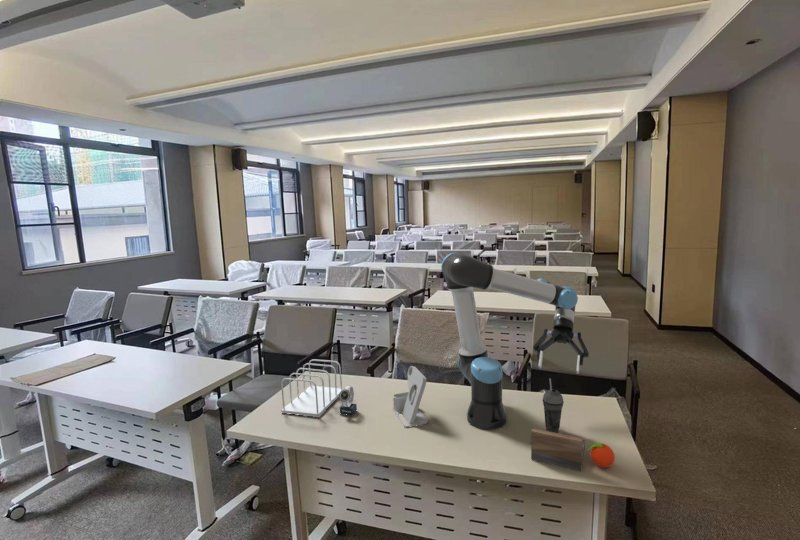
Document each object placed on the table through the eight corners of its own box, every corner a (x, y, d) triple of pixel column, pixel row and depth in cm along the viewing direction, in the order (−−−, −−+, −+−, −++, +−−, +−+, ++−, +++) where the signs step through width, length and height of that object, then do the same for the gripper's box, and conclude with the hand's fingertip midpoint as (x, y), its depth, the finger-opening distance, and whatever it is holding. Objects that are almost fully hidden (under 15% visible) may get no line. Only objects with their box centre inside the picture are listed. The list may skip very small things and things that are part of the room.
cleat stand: (580, 471, 133) (581, 441, 131) (531, 459, 140) (531, 431, 138) (584, 448, 145) (585, 420, 144) (538, 438, 152) (539, 412, 151)
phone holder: (391, 408, 179) (390, 367, 176) (414, 404, 182) (413, 363, 179) (404, 428, 162) (403, 383, 160) (429, 423, 165) (428, 379, 163)
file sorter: (310, 389, 201) (308, 357, 199) (344, 392, 196) (342, 360, 194) (280, 414, 177) (278, 378, 175) (318, 418, 172) (316, 381, 170)
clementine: (589, 471, 133) (590, 449, 132) (584, 458, 140) (584, 437, 139) (617, 472, 132) (618, 451, 131) (610, 459, 138) (611, 439, 137)
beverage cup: (564, 436, 153) (565, 383, 150) (543, 434, 155) (544, 382, 152) (561, 426, 160) (562, 375, 157) (540, 424, 162) (541, 374, 159)
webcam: (338, 416, 173) (336, 390, 172) (346, 407, 181) (345, 382, 179) (350, 418, 171) (349, 392, 170) (358, 409, 179) (357, 384, 177)
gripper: (597, 329, 171) (594, 378, 160) (533, 323, 183) (526, 369, 172) (597, 319, 166) (594, 370, 155) (531, 314, 177) (523, 361, 166)
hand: (558, 369), depth 163 cm, fingers open, 13 cm apart
